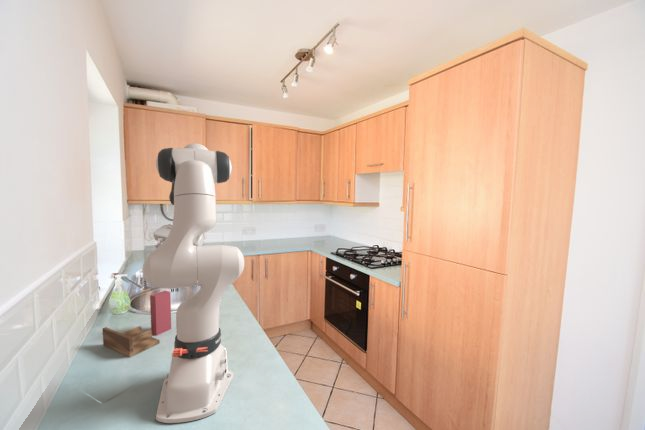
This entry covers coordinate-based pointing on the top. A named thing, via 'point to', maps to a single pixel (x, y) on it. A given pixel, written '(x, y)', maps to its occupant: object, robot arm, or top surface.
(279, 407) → the top surface
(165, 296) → the red rectangular block
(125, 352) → the book rack
